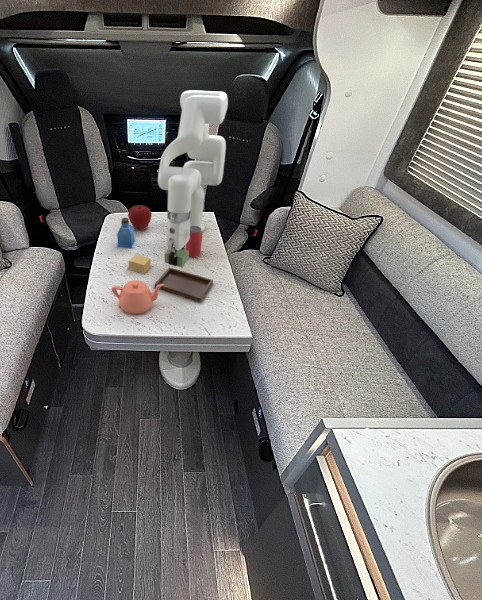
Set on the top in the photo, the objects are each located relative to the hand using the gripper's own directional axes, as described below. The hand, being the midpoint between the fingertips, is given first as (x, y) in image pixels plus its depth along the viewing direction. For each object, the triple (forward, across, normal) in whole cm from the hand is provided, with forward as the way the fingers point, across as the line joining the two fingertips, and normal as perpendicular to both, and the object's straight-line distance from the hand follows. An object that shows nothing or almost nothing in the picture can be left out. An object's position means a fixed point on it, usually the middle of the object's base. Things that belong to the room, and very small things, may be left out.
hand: (176, 260), depth 124 cm
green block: (+1, 0, 0) cm, 1 cm away
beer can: (+11, +23, +3) cm, 26 cm away
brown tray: (+11, 0, -3) cm, 11 cm away
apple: (+11, +33, +34) cm, 49 cm away
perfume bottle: (+11, +17, +33) cm, 38 cm away
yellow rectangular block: (+11, +3, +18) cm, 21 cm away
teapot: (+11, -17, +6) cm, 21 cm away
